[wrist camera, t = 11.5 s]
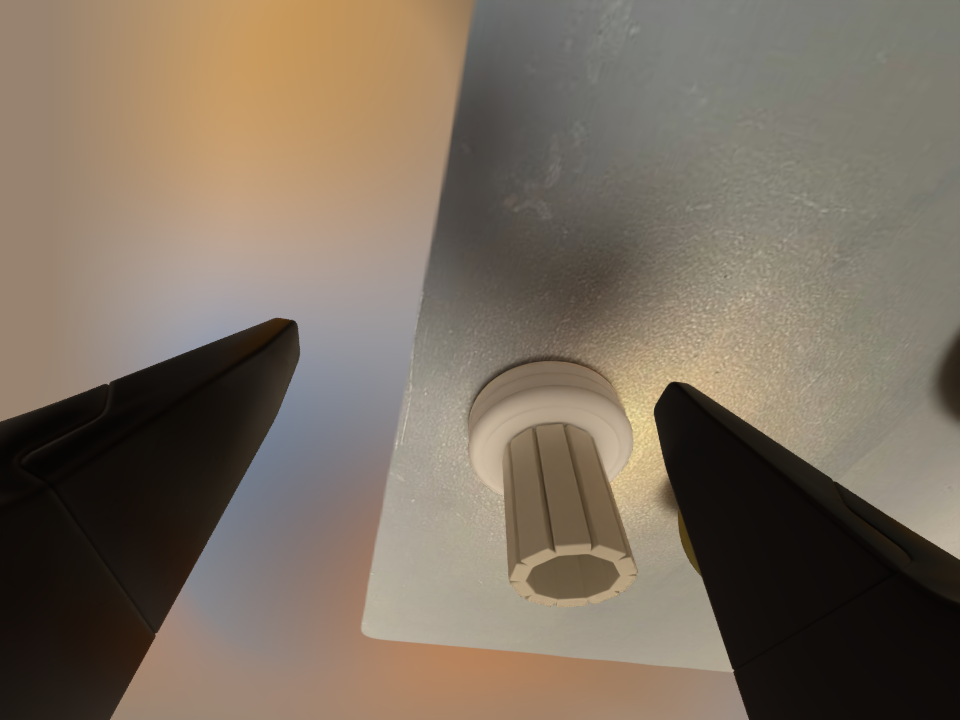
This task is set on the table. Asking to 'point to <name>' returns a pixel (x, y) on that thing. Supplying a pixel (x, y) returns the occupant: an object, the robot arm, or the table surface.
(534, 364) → the thick white disc
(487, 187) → the table surface
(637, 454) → the table surface
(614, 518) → the fluted vase
